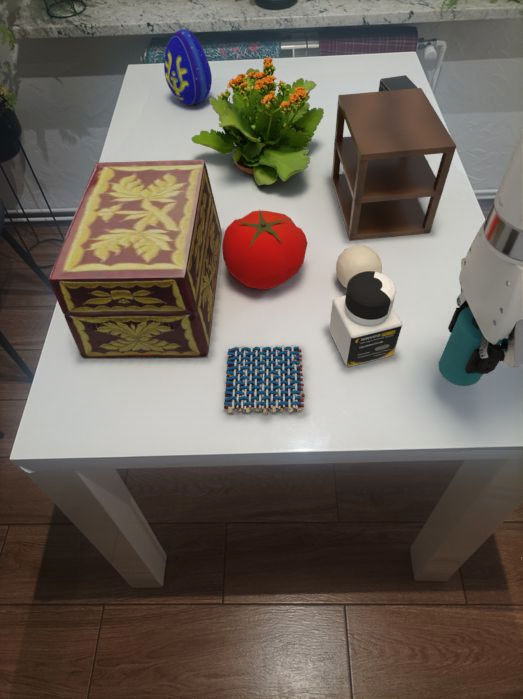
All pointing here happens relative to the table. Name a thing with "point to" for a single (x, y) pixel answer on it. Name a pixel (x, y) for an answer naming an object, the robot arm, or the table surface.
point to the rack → (388, 162)
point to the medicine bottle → (365, 319)
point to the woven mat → (264, 379)
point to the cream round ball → (356, 262)
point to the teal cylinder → (461, 350)
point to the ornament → (187, 68)
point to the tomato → (264, 249)
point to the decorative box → (141, 261)
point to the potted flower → (264, 124)
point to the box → (396, 83)
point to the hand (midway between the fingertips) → (470, 348)
